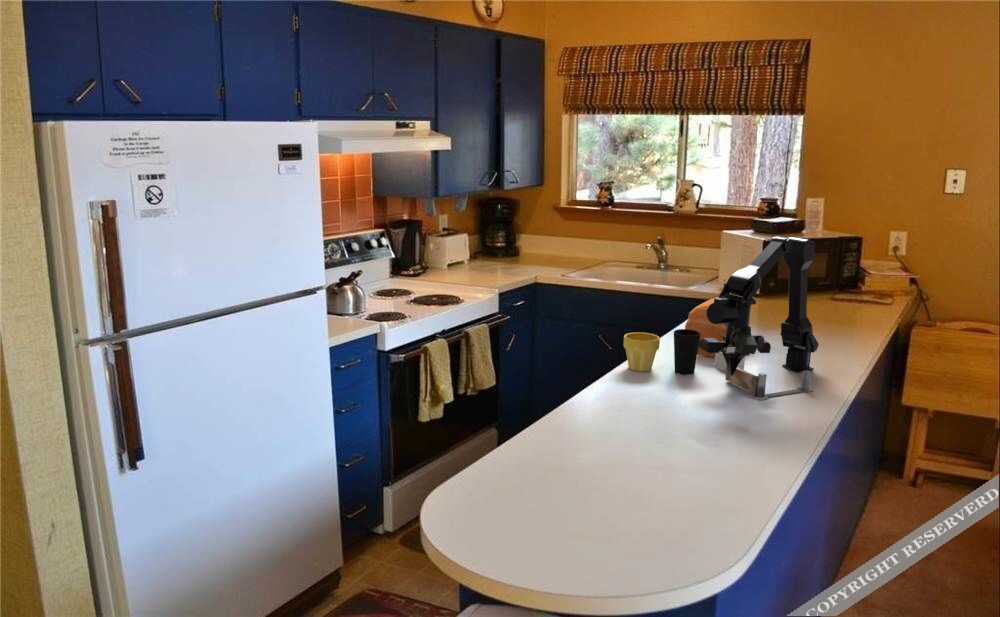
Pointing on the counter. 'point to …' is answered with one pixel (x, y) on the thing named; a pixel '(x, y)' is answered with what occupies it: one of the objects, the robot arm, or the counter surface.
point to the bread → (705, 325)
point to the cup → (685, 350)
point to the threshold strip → (783, 393)
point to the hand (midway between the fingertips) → (731, 375)
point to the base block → (722, 364)
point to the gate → (743, 380)
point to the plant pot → (641, 350)
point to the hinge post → (761, 387)
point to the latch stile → (805, 382)
